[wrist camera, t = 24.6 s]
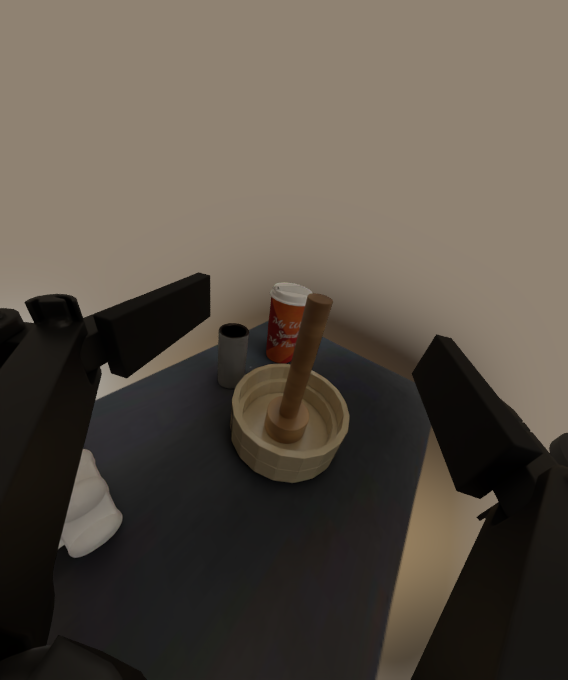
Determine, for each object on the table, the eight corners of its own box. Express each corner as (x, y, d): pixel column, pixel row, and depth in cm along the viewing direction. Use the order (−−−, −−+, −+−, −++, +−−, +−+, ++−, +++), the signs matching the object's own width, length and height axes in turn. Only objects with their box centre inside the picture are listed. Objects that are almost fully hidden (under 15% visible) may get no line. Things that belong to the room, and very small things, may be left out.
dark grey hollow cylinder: (245, 387, 39) (251, 338, 33) (218, 390, 37) (219, 338, 32) (241, 370, 42) (246, 323, 37) (216, 372, 41) (217, 322, 35)
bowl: (341, 410, 38) (353, 385, 35) (325, 509, 25) (341, 483, 22) (258, 378, 41) (262, 352, 38) (206, 452, 28) (206, 422, 25)
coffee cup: (264, 367, 44) (276, 296, 36) (258, 343, 51) (267, 279, 43) (303, 366, 47) (323, 300, 39) (292, 344, 53) (307, 283, 45)
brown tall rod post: (308, 417, 35) (352, 297, 24) (298, 451, 30) (347, 318, 19) (273, 403, 36) (300, 282, 25) (257, 433, 31) (282, 298, 20)
